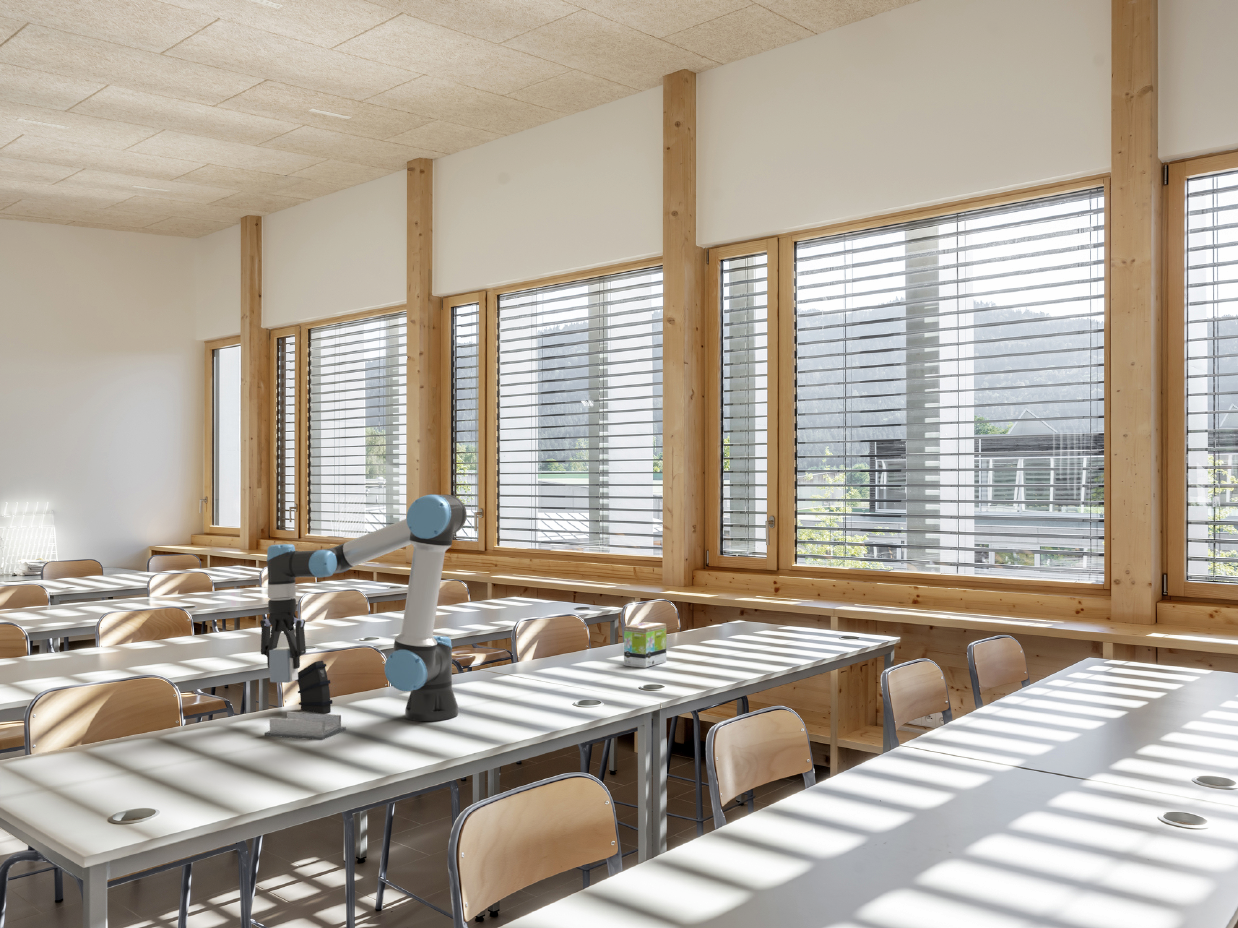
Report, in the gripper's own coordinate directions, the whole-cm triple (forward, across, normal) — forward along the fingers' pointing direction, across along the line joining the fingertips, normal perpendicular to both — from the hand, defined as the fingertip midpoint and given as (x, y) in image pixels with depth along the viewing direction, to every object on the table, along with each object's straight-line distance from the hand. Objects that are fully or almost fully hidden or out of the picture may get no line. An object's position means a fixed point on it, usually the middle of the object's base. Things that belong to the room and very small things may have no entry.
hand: (283, 679), depth 275 cm
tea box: (+14, -75, -111) cm, 135 cm away
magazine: (+12, +1, -14) cm, 19 cm away
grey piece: (+12, -13, +9) cm, 20 cm away
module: (0, 0, 0) cm, 0 cm away
